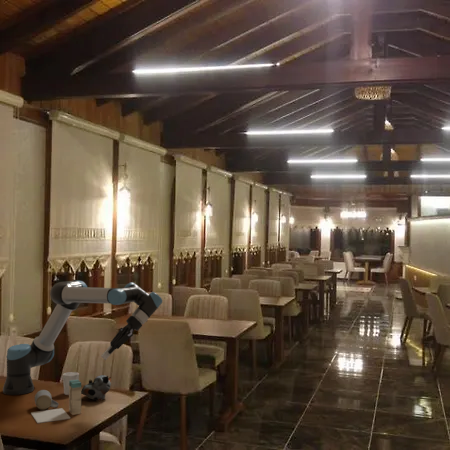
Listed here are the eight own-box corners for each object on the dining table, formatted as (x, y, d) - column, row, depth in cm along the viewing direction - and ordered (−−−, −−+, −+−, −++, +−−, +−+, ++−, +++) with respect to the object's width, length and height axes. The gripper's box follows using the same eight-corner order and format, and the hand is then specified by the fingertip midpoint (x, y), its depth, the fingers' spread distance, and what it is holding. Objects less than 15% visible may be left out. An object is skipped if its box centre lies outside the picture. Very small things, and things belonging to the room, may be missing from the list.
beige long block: (69, 411, 263) (69, 380, 263) (77, 410, 265) (77, 379, 265) (72, 414, 257) (72, 383, 258) (81, 413, 259) (81, 382, 260)
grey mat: (30, 413, 259) (30, 412, 259) (62, 409, 266) (62, 408, 266) (37, 423, 245) (37, 422, 245) (70, 418, 252) (70, 417, 252)
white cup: (82, 392, 294) (82, 373, 294) (70, 396, 287) (70, 376, 288) (71, 390, 298) (71, 371, 299) (59, 394, 292) (59, 374, 292)
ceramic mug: (35, 411, 262) (35, 394, 263) (34, 406, 270) (34, 390, 270) (59, 409, 266) (59, 392, 267) (57, 404, 274) (58, 388, 274)
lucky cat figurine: (86, 394, 291) (100, 368, 294) (105, 405, 288) (119, 379, 291) (74, 393, 277) (88, 366, 280) (95, 404, 274) (109, 378, 277)
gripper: (147, 326, 271) (112, 365, 263) (137, 323, 283) (104, 360, 274) (136, 316, 269) (101, 355, 261) (127, 313, 280) (93, 350, 272)
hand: (103, 358), depth 268 cm, fingers closed
